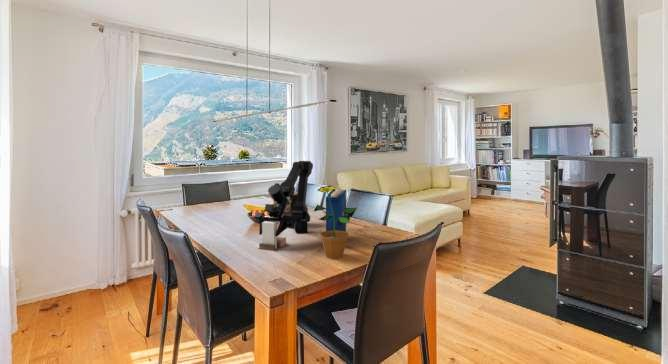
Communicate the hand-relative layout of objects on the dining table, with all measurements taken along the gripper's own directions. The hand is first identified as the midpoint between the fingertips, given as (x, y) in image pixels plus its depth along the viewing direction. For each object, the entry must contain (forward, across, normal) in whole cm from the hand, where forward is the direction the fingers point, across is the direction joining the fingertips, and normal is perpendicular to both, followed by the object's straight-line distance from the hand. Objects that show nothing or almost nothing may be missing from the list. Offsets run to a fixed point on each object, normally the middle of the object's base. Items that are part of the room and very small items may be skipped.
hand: (267, 235), depth 157 cm
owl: (-28, -12, +38) cm, 49 cm away
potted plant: (+3, +31, +7) cm, 32 cm away
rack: (+2, 0, +8) cm, 8 cm away
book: (-13, +23, +24) cm, 36 cm away
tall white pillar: (+4, 0, +6) cm, 7 cm away
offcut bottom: (-1, 0, +10) cm, 10 cm away
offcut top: (-2, 0, +9) cm, 9 cm away
